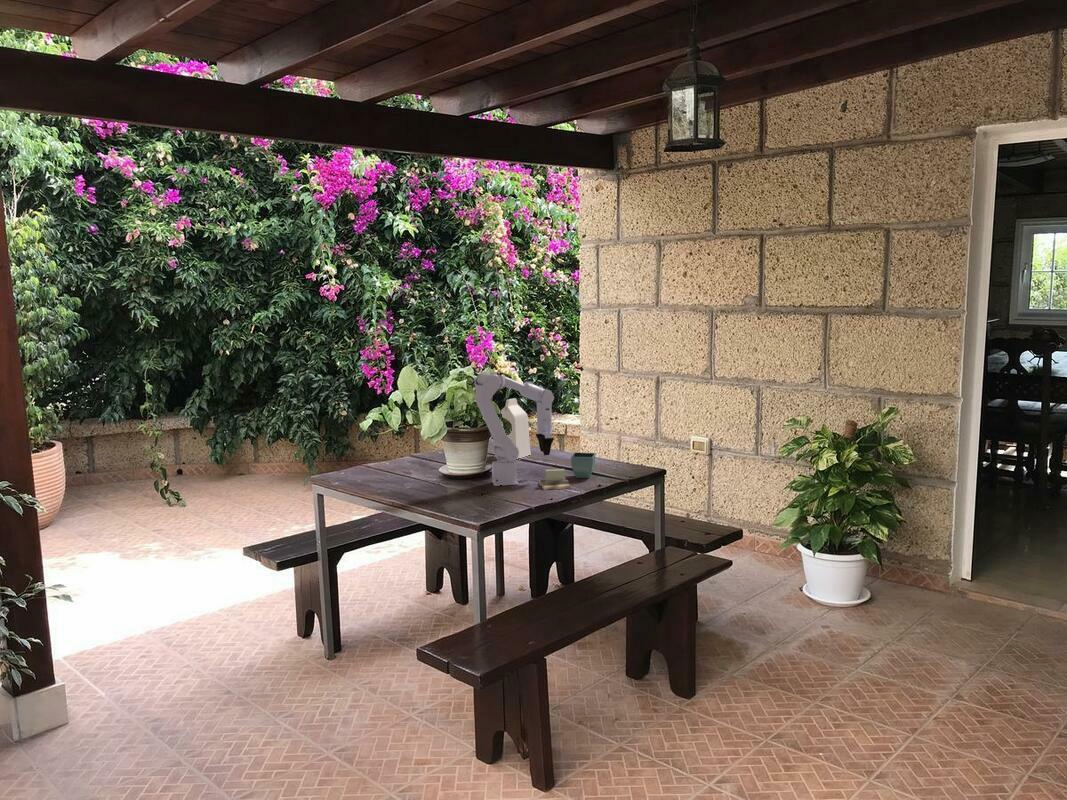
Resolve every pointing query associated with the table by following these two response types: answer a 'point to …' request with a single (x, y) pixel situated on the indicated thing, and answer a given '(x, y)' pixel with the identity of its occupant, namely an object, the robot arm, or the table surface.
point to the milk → (517, 426)
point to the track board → (554, 484)
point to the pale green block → (555, 475)
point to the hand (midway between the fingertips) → (545, 453)
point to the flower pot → (583, 464)
